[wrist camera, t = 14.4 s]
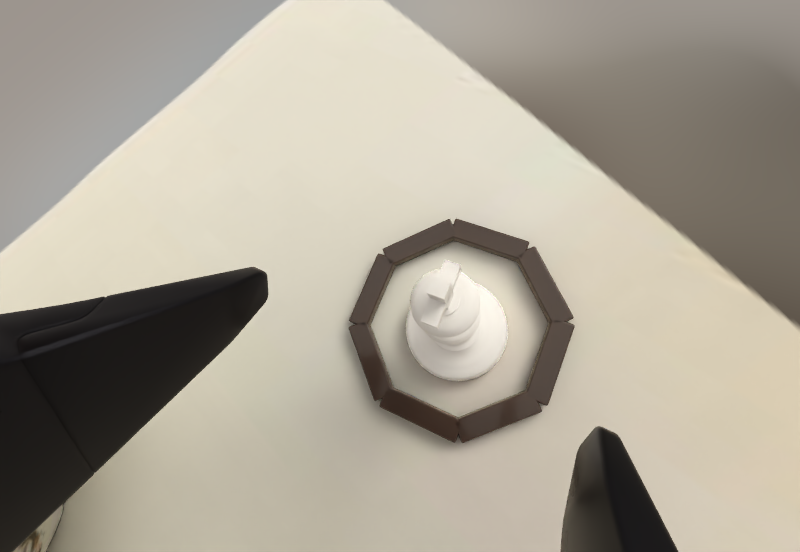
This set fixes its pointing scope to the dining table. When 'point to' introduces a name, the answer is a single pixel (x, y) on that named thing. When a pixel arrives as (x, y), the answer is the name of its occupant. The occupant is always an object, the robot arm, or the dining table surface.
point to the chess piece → (455, 325)
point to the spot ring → (497, 412)
